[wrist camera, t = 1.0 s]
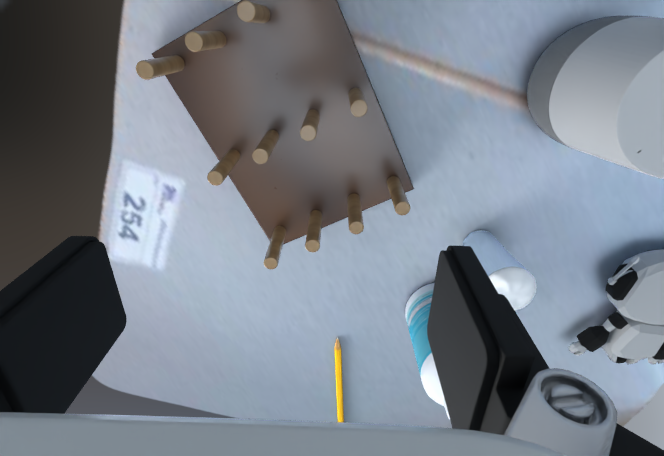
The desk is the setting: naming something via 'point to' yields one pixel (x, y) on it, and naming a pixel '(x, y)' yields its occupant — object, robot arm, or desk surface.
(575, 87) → the smart speaker
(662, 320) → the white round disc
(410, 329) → the pill bottle
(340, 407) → the pencil
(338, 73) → the plate rack
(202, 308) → the desk surface
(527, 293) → the milkshake
